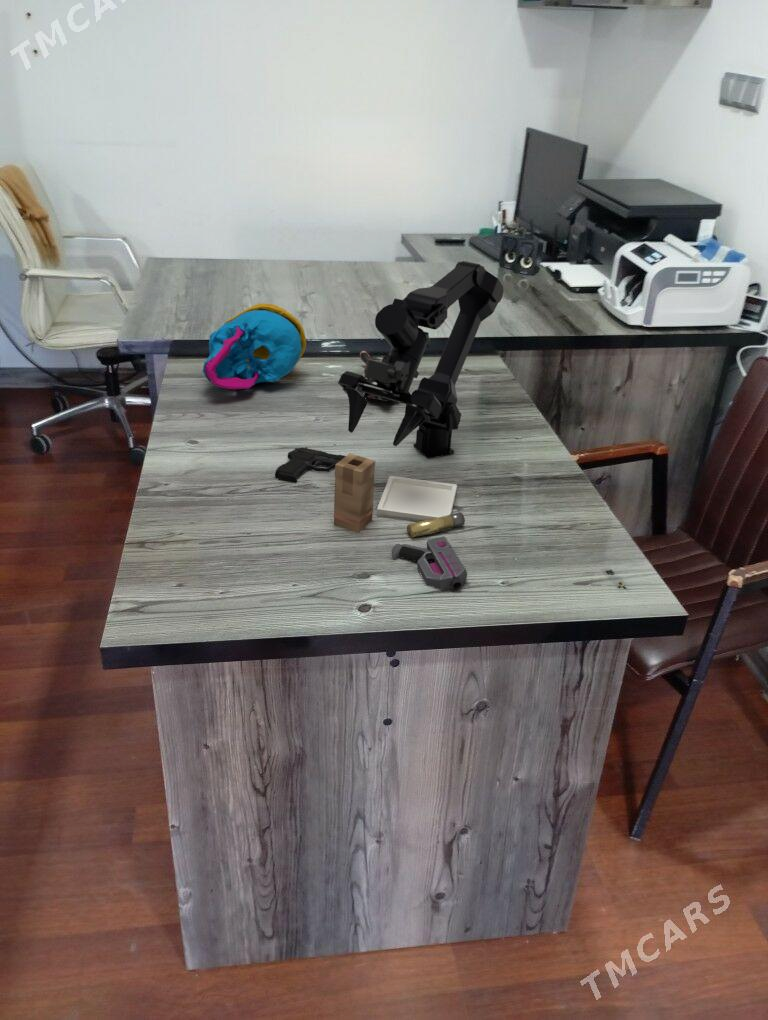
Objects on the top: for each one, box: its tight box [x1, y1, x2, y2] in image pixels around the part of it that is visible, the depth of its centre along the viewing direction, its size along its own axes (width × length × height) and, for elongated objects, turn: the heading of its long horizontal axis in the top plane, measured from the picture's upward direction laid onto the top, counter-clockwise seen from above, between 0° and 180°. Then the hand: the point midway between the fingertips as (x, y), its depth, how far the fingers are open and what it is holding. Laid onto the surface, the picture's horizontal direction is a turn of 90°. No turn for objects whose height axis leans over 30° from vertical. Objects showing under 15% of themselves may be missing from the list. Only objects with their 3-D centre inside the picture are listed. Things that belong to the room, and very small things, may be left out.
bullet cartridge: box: [406, 511, 466, 539], centre depth 146 cm, size 10×2×2 cm, turn 118°
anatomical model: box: [202, 302, 307, 390], centre depth 195 cm, size 18×25×25 cm
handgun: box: [274, 446, 347, 484], centre depth 163 cm, size 3×17×12 cm
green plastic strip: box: [605, 569, 627, 590], centre depth 136 cm, size 6×1×2 cm
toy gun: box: [391, 536, 468, 591], centre depth 136 cm, size 14×3×10 cm
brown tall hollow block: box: [333, 453, 376, 534], centre depth 144 cm, size 5×5×12 cm
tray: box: [376, 475, 458, 523], centre depth 154 cm, size 13×13×2 cm
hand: (372, 438), depth 148 cm, fingers open, 9 cm apart
